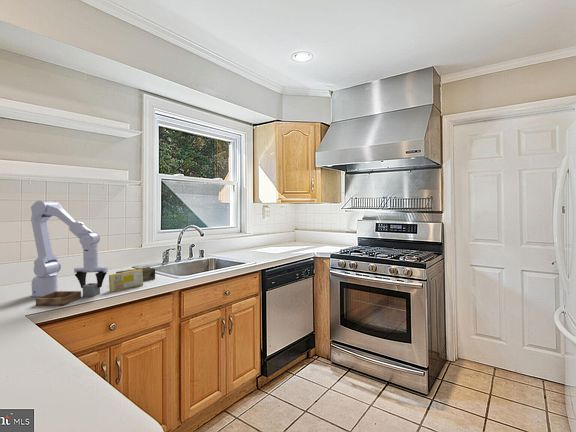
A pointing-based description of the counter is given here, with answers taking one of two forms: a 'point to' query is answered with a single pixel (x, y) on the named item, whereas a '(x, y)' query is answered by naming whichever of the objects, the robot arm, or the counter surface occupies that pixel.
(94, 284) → the slate crate
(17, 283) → the counter surface
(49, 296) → the walnut crate
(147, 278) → the beverage carton
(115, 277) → the candy box
